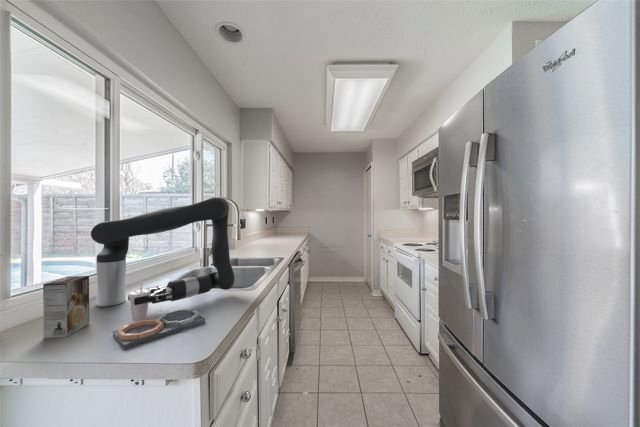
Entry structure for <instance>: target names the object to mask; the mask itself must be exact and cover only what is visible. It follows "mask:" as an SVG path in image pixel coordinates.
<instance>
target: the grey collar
mask: <svg viewBox="0 0 640 427" xmlns="http://www.w3.org/2000/svg"><path fill="white" fill-rule="evenodd" d="M181 314H191V315H193V316H192V317H191V318H188V319H184V320H181V321H167V319H168V318H170V317H173V316H177V315H181ZM199 316H200V313H199V311H197V310H195V309H179V310H175V311H172V312H169V313H166V314H164V315H163V316H162V317H160V321H161V322H162V323H163V325H164V326H181V325H185V324H188V323H191V322H193V321H195V320H196V319H197V318H198V317H199Z"/></svg>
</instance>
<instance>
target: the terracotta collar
mask: <svg viewBox="0 0 640 427" xmlns="http://www.w3.org/2000/svg"><path fill="white" fill-rule="evenodd" d="M158 319H159V318H157V319H145V320H142V321H138V322H131V323H128V324H126V325H123V327H120V328H119V329H117V330H118V331H117V335H118V337H119V338H120V339H121V340H131V339H140V338H143V337H147V336H150V335H153V334H155V333H157V332H158V331H159V330H161V329H162V328H163V323H162V322H161V321H160V320H158ZM141 325H156V327H155V328H154V329H151V330H148V331H145V332H141V333H133V334H125V333H124V332H126V331H127V330H129V329H131V328H134V327H138V326H141Z"/></svg>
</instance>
